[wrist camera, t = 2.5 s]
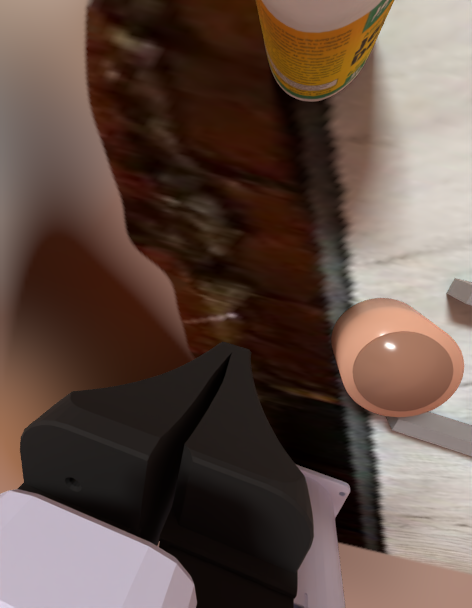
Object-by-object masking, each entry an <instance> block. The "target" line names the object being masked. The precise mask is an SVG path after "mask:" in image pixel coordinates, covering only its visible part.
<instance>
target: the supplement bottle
mask: <svg viewBox="0 0 472 608" xmlns="http://www.w3.org/2000/svg"><path fill="white" fill-rule="evenodd" d="M393 2H394V0H256V4H257V8H258V13H259V17H260V22H261V27H262V32H263V37H264V43H265V47H266V52H267V57H268V61H269V65H270V68H271V71H272V73H273V76H274V78H275V79H276V81H277V83H278V84H279V86H280V87H281V88H282V89H283V90H284V91H285V92H286V93H287V94H289V95H290V96H292V97H294V98H296V99H298V100H302V101H309V102H315V101H320V100H323V99H326V98H329V97H331V96H333V95H335V94H336V93H338V92H340V91H341V90H343V89H344V88H345V87H346V86H347V85H348V84H350V83H351V82H352V81H353V79H354V78H355V77H356V76H357V75H358V74H359V72H360V71H361V69H362V68H363V66H364V64H365V63H366V61H367V59H368V56H369V54H370V53H371V51H372V48H373V46H374V44H375V41H376V39H377V37H378V35H379V33H380V30H381V28H382V26H383V24H384V21H385V19H386V17H387V15H388V13H389V11H390V9H391V6H392V4H393Z"/></svg>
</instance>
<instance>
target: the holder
mask: <svg viewBox="0 0 472 608" xmlns="http://www.w3.org/2000/svg"><path fill="white" fill-rule="evenodd" d="M447 294H448V295H450V296H452V297H454V298H456V299H458V300H460V301H461V302H463V303H465V304H469V305H472V282H468V281H464V280H460V279H456V278H455V279H454V281H453V283H452V285H451V286H450V288H449V290H448V292H447ZM386 417H387V420H388V422H389V424H390V427H391V429H392V430H393V431H396V432H399V433H402V434H405V435H408V436H411V437H414V438H417V439H420V440H423V441H426V442H429V443H432V444H435V445H438V446H441V447H445V448H448V449H451V450H454V451H457V452H460V453H463V454H466V455H469V456H472V425H469V424H465V423H462V422H459V421H456V420H453V419H449V418H446V417H443V416H440V415H437V414H434V413H430V412H426V413H423V414H420V415H415V416H409V417H389V416H386Z"/></svg>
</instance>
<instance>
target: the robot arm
mask: <svg viewBox="0 0 472 608" xmlns="http://www.w3.org/2000/svg"><path fill="white" fill-rule="evenodd" d="M20 453H21V460H22V469H23V478H24V483H23V484H22V485H21V486H20V487H19V488H18V489H16V490H10V491H7V492H4V493H2V494H0V608H345V599H344V591H343V583H342V574H341V567H340V558H339V549H338V541H337V532H336V524H335V518H336V516H337V514H338V512H339V510H340V509H341V507H342V505H343V503H344V502H345V500H346V498H347V496H348V495H349V493H350V486H349V484H348V483H346V482H343V481H340V480H338V479H335V478H332V477H329V476H327V475H324V474H321V473H318V472H316V471H313V470H310V469H307V468H305V467H302V466H299V465H296V464H295V463H294V462H293V461H292V459H291V458H290V457H289V455H288V454H287V453H286V451H285V450H284V448H283V447H282V445H281V444H280V442H279V441H278V439H277V437H276V435H275V433H274V431H273V430H272V428H271V426H270V424H269V422H268V420H267V418H266V416H265V414H264V411H263V409H262V406H261V404H260V401H259V398H258V395H257V392H256V389H255V385H254V381H253V376H252V370H251V352H250V350H248V349H245V348H242V347H238V346H235V345H232V344H229V343H225V342H222V343H220V344H218V345H217V346H215V347H214V348H212V349H211V350H209V351H208V352H206V353H205V354H203V355H201V356H200V357H198V358H196V359H194V360H193V361H191V362H189V363H187V364H185V365H183V366H181V367H179V368H177V369H174V370H172V371H169V372H167V373H164V374H162V375H159V376H155V377H152V378H148V379H145V380H142V381H138V382H134V383H129V384H125V385H120V386H114V387H108V388H101V389H93V390H83V391H73V392H71V393H70V394H68V395H67V396H66V397H64V398H63V399H61V400H60V401H59V402H57V403H56V404H55V405H54V406H52V407H51V408H50V409H49V410H47V411H46V412H45V413H44V414H43V415H41V416H40V417H39V418H38V419H37V420H35V421H34V422H33V423H31V424H30V425H29V426H28V427H27V428H25V429H24V432H23V434H22V436H21V442H20ZM159 541H160V544H159V547H158V546H157V545H158V542H159Z"/></svg>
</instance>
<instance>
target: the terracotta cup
mask: <svg viewBox="0 0 472 608" xmlns="http://www.w3.org/2000/svg"><path fill="white" fill-rule="evenodd" d="M331 344H332V349H333V353H334V356H335V359H336V362H337V365H338V368H339V372H340V375H341V378H342V381H343V384H344V386H345V389H346V391H347V392H348V394H349V395H350V396H351V398H352V399H353V400H354V401H355V402H356V403H358V404H359V405H360V406H362V407H363V408H365V409H367V410H369V411H371V412H373V413H376V414H380V415H384V416H389V417H409V416H415V415H420V414H423V413H426V412H428V411H431V410H433V409H435V408H437V407H438V406H440V405H441V404H443V403H444V402H445V401H447V400H448V399H449V398H450V397H451V396H452V395H453V394H454V392H455V391H456V390H457V388H458V386H459V385H460V382H461V380H462V377H463V372H464V360H463V356H462V353H461V350H460V348H459V346H458V345H457V343H456V342H455V341H454V340H453V339H452V338H451V337H450V336H449V335H448V334H447V333H446V332H444V331H443V330H442V329H440V328H439V327H438V326H436V325H435V324H434V323H432V322H431V321H430V320H428V319H427V318H425V317H424V316H423V315H421V314H420V313H419V312H417V311H416V310H415V309H413V308H412V307H411V306H409V305H407V304H405V303H403V302H401V301H398V300H394V299H388V298H375V299H369V300H365V301H363V302H360V303H358V304H356V305H354V306H352V307H351V308H349V309H348V310H347V311H345V312H344V313H343V314H342V315H341V316H340V318H339V319H338V320H337V322H336V324H335V326H334V328H333V331H332V336H331Z"/></svg>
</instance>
